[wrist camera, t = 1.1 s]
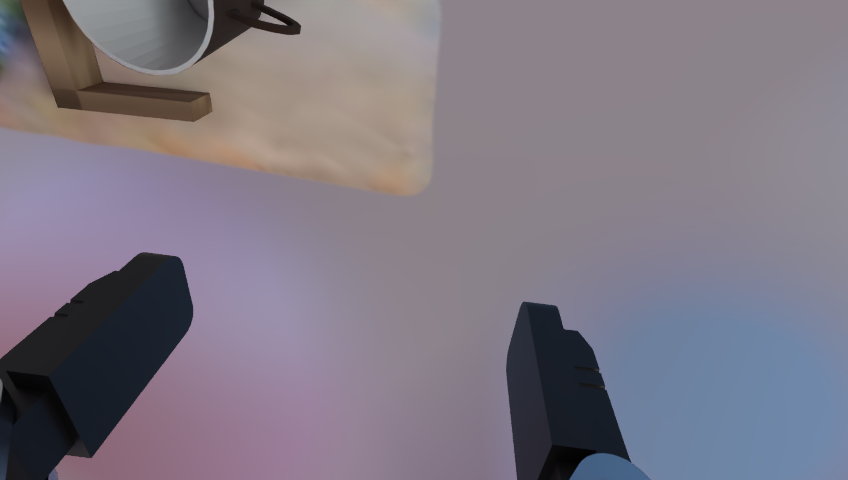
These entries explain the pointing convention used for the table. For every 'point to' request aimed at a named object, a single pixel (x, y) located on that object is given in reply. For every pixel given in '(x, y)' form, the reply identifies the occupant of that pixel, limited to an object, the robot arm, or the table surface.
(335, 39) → the table surface
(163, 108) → the walnut corral
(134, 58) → the coffee mug
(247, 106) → the table surface
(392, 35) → the table surface
